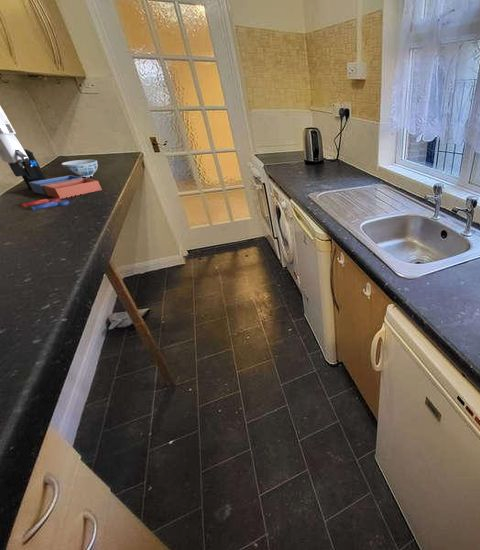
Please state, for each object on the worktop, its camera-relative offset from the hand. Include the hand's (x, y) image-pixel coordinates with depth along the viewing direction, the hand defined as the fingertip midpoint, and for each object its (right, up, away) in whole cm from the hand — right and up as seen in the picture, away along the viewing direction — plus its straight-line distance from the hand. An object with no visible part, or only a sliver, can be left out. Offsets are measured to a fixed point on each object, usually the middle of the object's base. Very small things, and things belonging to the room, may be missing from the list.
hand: (27, 176), depth 119 cm
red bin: (-1, -1, +21) cm, 21 cm away
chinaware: (-22, +16, +48) cm, 55 cm away
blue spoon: (+6, -11, +4) cm, 13 cm away
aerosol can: (-26, +4, +28) cm, 38 cm away
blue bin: (-13, +3, +26) cm, 29 cm away
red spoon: (0, -9, +7) cm, 12 cm away
